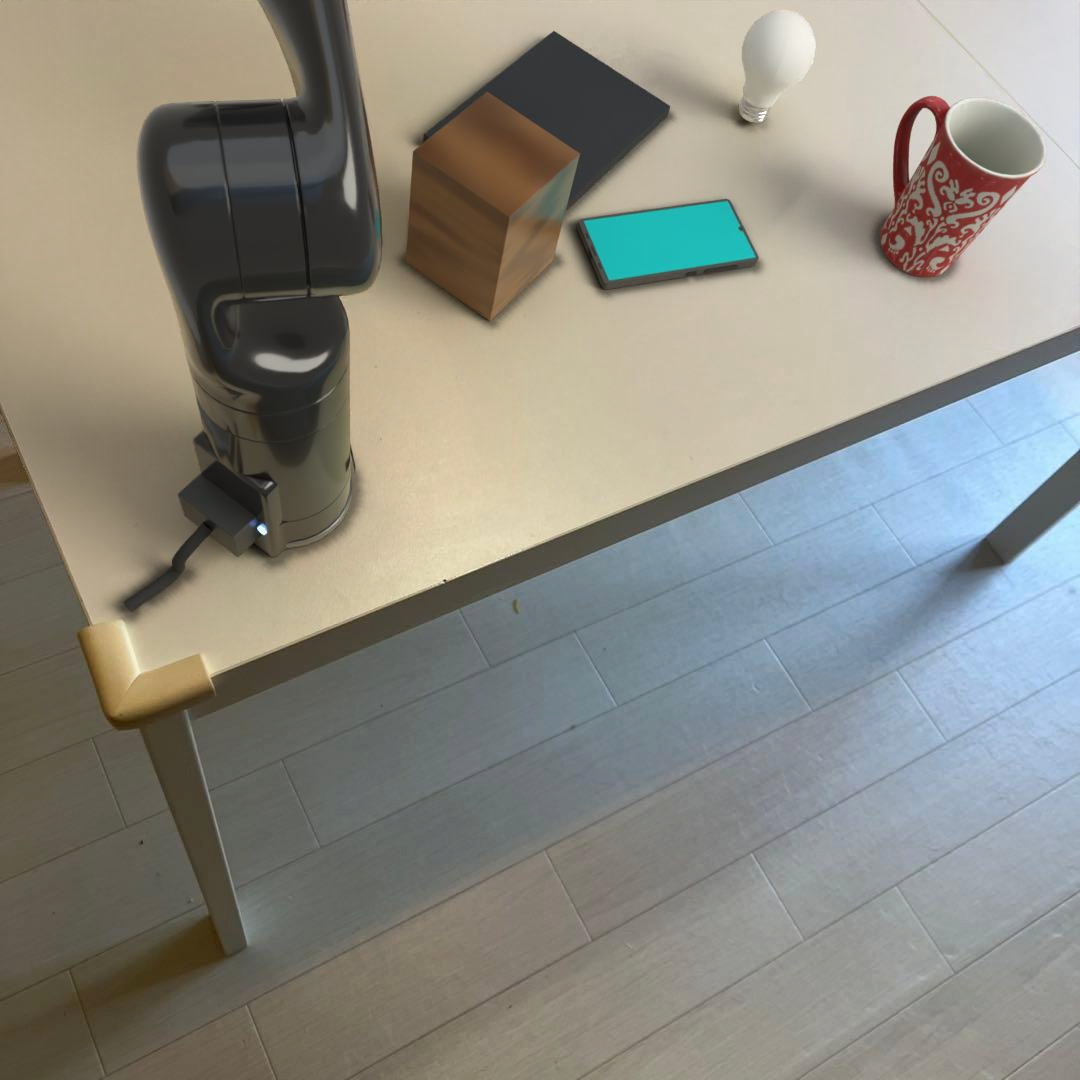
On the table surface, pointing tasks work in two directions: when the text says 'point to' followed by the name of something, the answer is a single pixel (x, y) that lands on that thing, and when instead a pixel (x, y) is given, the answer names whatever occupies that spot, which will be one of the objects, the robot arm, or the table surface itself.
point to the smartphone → (666, 243)
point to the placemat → (575, 105)
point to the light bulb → (774, 60)
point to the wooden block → (487, 204)
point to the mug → (956, 180)
